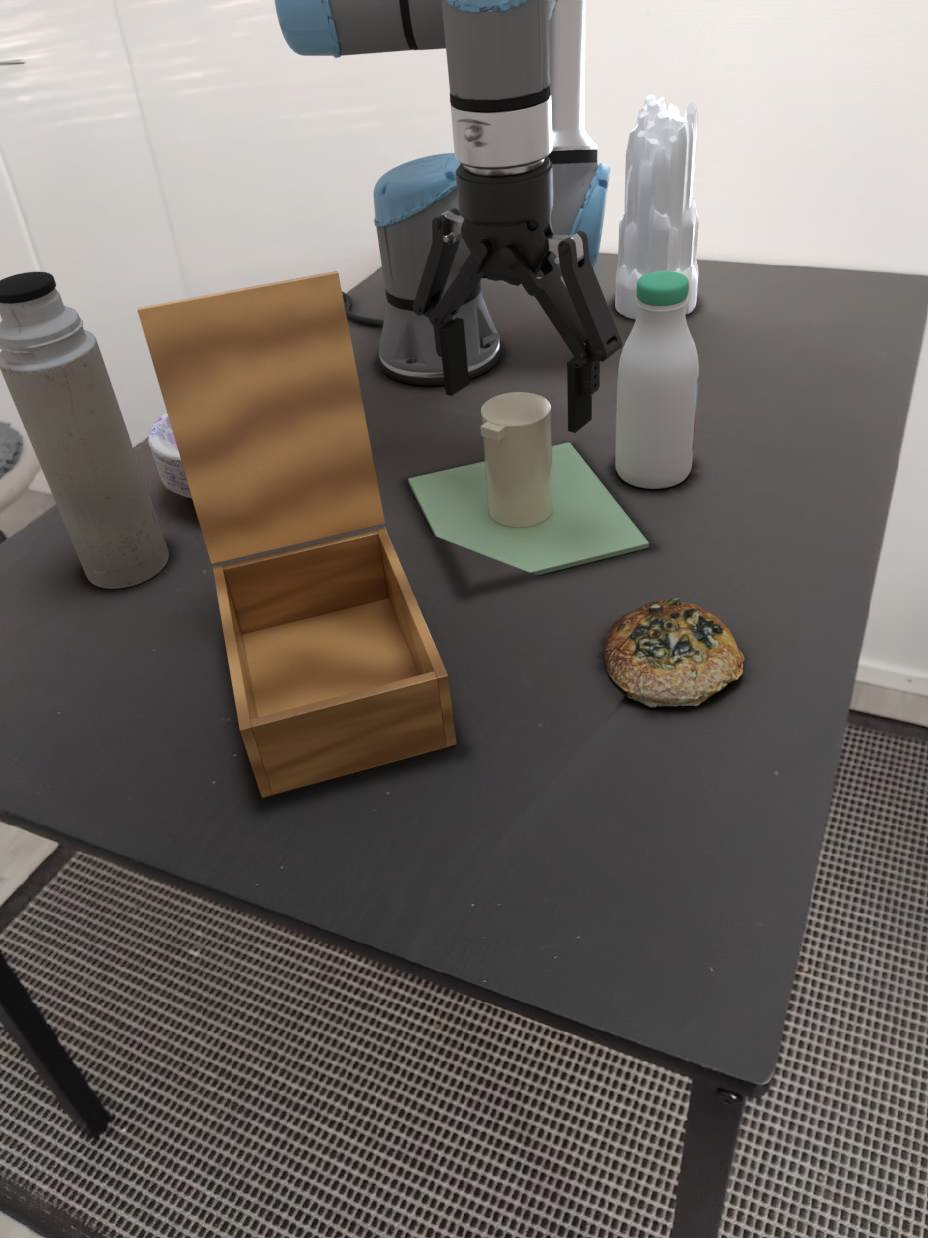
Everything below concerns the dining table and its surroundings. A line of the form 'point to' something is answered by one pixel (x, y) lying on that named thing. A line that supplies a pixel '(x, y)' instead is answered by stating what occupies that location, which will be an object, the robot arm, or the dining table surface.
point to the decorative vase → (658, 202)
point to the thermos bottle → (78, 433)
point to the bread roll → (671, 654)
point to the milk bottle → (657, 387)
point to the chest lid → (266, 413)
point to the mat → (564, 540)
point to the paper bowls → (168, 457)
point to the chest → (330, 661)
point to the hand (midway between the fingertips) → (516, 406)
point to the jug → (518, 458)
